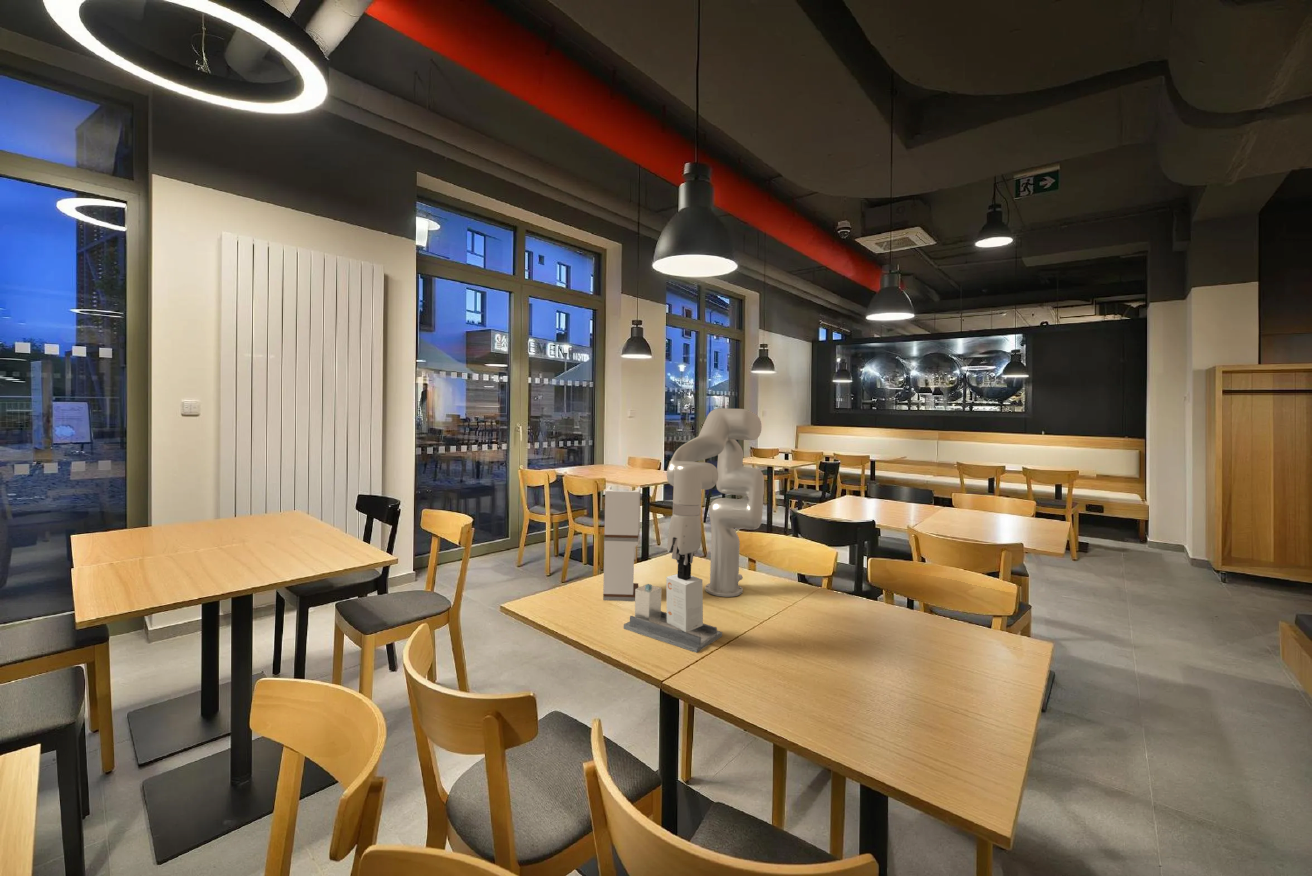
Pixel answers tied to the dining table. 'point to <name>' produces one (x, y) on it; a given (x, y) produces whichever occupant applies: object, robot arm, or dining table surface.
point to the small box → (684, 602)
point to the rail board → (665, 623)
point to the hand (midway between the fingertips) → (684, 578)
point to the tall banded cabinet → (620, 543)
